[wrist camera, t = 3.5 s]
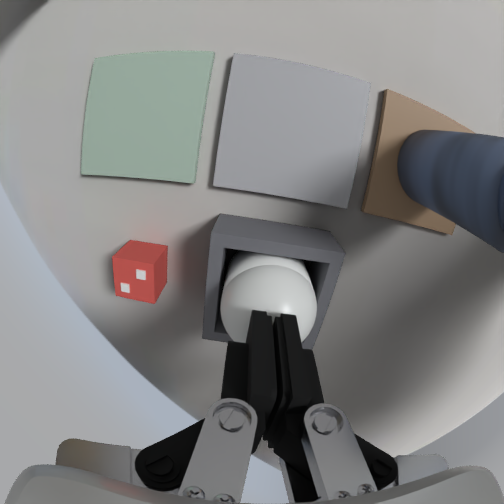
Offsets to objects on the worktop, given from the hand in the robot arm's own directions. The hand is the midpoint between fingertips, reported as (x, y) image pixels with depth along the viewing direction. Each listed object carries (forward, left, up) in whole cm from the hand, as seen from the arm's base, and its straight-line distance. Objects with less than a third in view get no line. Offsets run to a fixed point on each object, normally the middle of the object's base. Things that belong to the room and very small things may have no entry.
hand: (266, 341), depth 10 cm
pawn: (-8, -8, -5) cm, 13 cm away
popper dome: (0, 0, -6) cm, 6 cm away
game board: (0, -4, -6) cm, 7 cm away
